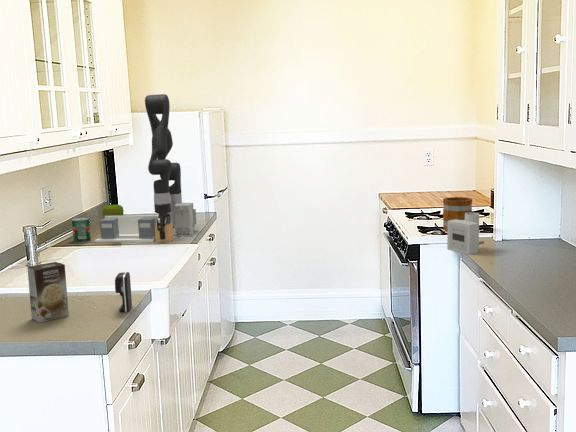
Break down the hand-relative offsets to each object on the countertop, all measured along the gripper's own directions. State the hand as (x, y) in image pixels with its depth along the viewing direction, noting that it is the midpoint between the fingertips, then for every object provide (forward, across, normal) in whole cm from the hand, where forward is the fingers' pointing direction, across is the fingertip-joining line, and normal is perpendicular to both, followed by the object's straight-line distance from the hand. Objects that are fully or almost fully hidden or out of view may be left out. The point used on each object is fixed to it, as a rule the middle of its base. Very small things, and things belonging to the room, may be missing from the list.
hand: (164, 237), depth 300 cm
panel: (+1, -4, -19) cm, 19 cm away
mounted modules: (0, -2, -18) cm, 18 cm away
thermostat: (+2, +23, +136) cm, 138 cm away
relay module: (+1, 0, 0) cm, 1 cm away
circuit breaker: (+2, -17, +6) cm, 18 cm away
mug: (+2, -21, +137) cm, 139 cm away
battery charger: (+2, +102, +18) cm, 104 cm away
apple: (+2, -47, -43) cm, 64 cm away
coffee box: (+2, +110, -2) cm, 110 cm away
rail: (+1, -2, -19) cm, 19 cm away
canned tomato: (+2, +1, -40) cm, 40 cm away
